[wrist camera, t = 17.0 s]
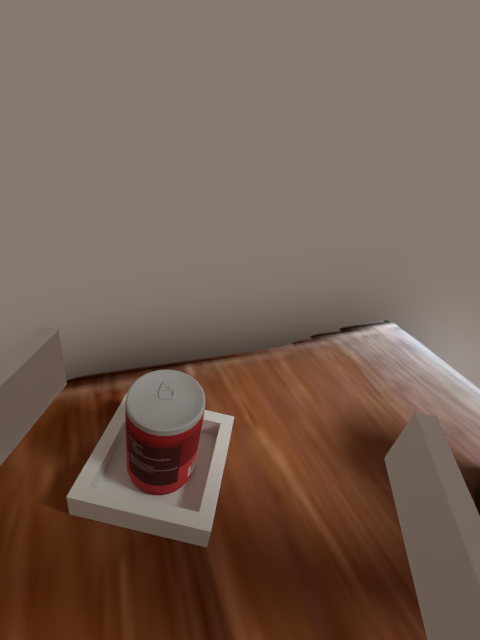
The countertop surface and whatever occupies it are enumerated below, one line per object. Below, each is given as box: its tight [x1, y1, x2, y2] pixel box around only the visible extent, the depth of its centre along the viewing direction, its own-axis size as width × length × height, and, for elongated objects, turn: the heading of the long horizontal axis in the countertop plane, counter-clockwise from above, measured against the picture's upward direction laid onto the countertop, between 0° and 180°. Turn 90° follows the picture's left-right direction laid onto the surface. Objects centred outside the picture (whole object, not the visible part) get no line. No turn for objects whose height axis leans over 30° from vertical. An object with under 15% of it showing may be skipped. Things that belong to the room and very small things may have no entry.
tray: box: [66, 394, 234, 548], centre depth 39 cm, size 14×14×3 cm
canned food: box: [125, 370, 205, 495], centre depth 36 cm, size 8×8×11 cm
